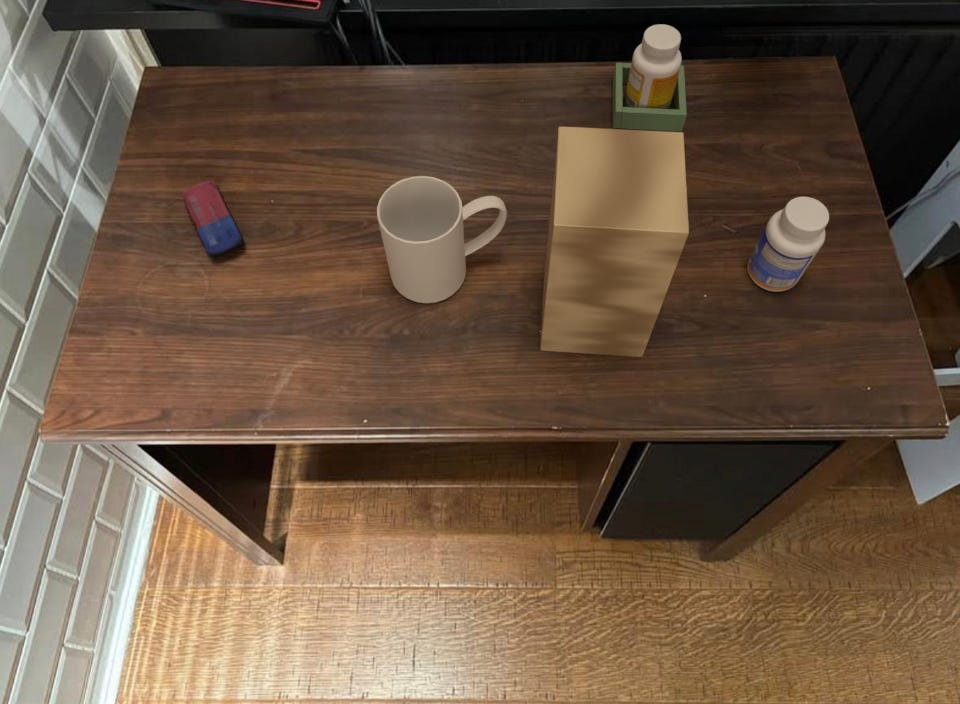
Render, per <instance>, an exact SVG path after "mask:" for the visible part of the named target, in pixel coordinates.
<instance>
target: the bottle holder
mask: <svg viewBox="0 0 960 704" xmlns="http://www.w3.org/2000/svg"><path fill="white" fill-rule="evenodd" d="M631 64H632V62H615V65H614V71H613V77H612V129H623V130H643V131H663V132H683V129H684V126H685V123H686V120H687V116H688V111H687V95H686V94H687V93H686V79H685V78H686V77H685V65H682V64H681V67H680V70H679V74H678V78H677V82H676V85H675V89H674V93H673V97H672V100H673V108H669V109H655V108H634V107H625V106H623V105H624V104H623V103H624V102H623V100H624V98H623V97H624V93H623V90H624V89H623V86H624V85H626V86H627V84H628V79H629V74H630V69H631Z"/></svg>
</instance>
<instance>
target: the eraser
mask: <svg viewBox="0 0 960 704" xmlns="http://www.w3.org/2000/svg"><path fill="white" fill-rule="evenodd" d="M182 201H183V203H184V205H185V207H186V210H187V212H188V214H189V216H190V218H191V220H192V223H193V225H194V228H195V229H196V232H197V234H198V236H199V238H200V240H201V243H202V245H203V246H204V249H205V251H206V253H207V254H208V256H209V257H210V258H211V259H212V260H217V259H219V258H222V257H224V256H227V255H229V254H231V253H233V252H235V251H237V250H240V249H242V248H243V247H244V246H245V245H246V242H245V240H244V237H243V235H242V232H241V230H240V228H239V225H238V223H237V222H236V220H235V218H234V216H233V215H232V213H231V210H230V208H229V206H228V204H227V202H226V200H225V198H224V196H223V194H222V192H221V189H220V187H219V186H218V184H217V183H216V182H215V181H213V180H206V181H203V182H200V183H198V184H195V185H193V186H190V187H188V188H187V189H185V190H184V191H183V193H182Z"/></svg>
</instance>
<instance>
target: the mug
mask: <svg viewBox="0 0 960 704" xmlns="http://www.w3.org/2000/svg"><path fill="white" fill-rule="evenodd" d="M487 209H498V210H499V213H498V216H497V218H496V219H495V221H494V223H493V224H492V225H491V226H490V227H488V228H487V229H485V231H484V232H482V233H480V234H479V235H478V236H476V237H474V238H473V239H471V240H470V241H467V242H466V243H465V231H464V229H465V228H464V220H466V219H468V218H469V217H471V216H472V215H474V214H476V213H478V212H480V211H483V210H487ZM507 217H508V210H507V207H506V204H505V201H503V200H502V199H501V198H500V197H498V196H495V195H486V196H481V197H478V198H476V199H473V200H471V201H470V202H468V203H466V204H465V205H463V201H462V198H461V197H460V195H459V193H458V191H457V190H456V189H455V188H454V187H453V185H451V184H449V183H448V182H446V181H445V180H443V179H440V178H437V177H435V176H429V175H428V176H427V175H417V176H416V175H415V176H410V177H406V178H403V179H400V180H399V181H397V182H394V183H393V184H392V185H390V186H389V187H388V188H387V189H386V190H384V191H383V194H382V195H381V197H380V198H379V200H378V203H377V206H376V218H377V223H378V227H379V231H380V235H381V236H380V237H381V240H382V246H383V248H384V253H385V254H384V255H385V258H386V263H387V265H388V266H387V267H388V271H389V276H390V279H391V282H392V284H393V286H394V288H395V289H396V290H397V292H398V293H399V294H400V295H401V296H403V297H404V298H406V299H408V300H409V301H412V302H415V303H421V304H435V303H439V302H442V301H444V300H447V299H448V298H450V297H452V296H453V295H454V294H455V293H456V292H457V291H458V290H460V288H461V287H462V285H463V283H464V281H465V278H466V274H467V263H466V257H467V256H468V255H470V254H472V253H474V252H476V251H478V250H480V249H482V248H483V247H485V246H486V245H487V244H489V243H490V242H491V241H493V240H494V239H495V238H496V237H498V235H499V234H500V233H501V232H502V230H503V229H504V226H505V224H506V221H507Z"/></svg>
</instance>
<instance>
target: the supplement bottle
mask: <svg viewBox="0 0 960 704" xmlns="http://www.w3.org/2000/svg"><path fill="white" fill-rule="evenodd" d="M681 40H682V36H681V33H680V31H679V30H678V29H676V28H675V27H674V26H672V25H669V24H664V23H663V24H660V23H658V24H653V25H651V26H649V27H647V28H646V30H645V31H644V33H643V37H642V40H641V42H640V44H639V45H637V47H635V50H634V51H633V54H632V58H631V63H632V64H631V69H630V74H629V79H628V84H627V85H626V89H625V94H624V102H623V103H624V107H634V108H655V109H670V108H671V104H672V101H673V93H674V89H675V85H676V82H677V78H678V74H679V70H680V67H681V65H682V63H683V60H682V59H683V58H682V53H681V51H680V45H681V42H682V41H681Z"/></svg>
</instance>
